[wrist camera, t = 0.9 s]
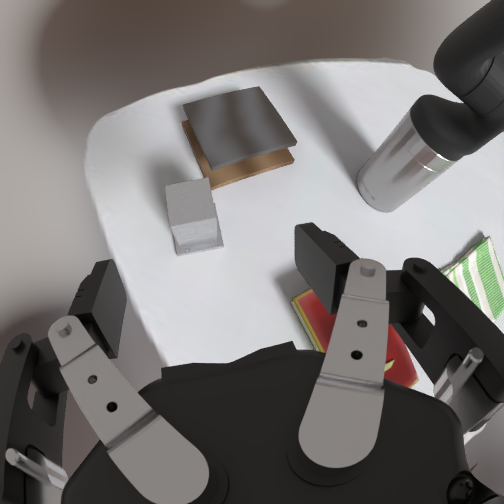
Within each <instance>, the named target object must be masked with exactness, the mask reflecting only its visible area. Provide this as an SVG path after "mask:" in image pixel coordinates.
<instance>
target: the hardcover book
mask: <svg viewBox="0 0 504 504" xmlns="http://www.w3.org/2000/svg"><path fill="white" fill-rule="evenodd" d="M361 259H363V258H361ZM292 299H293V301H292V302H291V304H292V306H293V308H294V310H295V312H296V314H297V316H298V317H299V319H300V321H301V323H302V325H303V327H304V329H305V331H306V333H307V335H308V336H309V338H310V340H311V342H312V344H313V346H314V348H315V350H316V351H319V352H324V353H327V349H328V346H329V342H330V339H331V335H332V332H333V328H334V324H335V321H336V317H337V314H334V315H329V313H328V312H327V310H326V309H325V307H324V306H323V304H322V303H321V301H320V300H319V299H318V297H317V296H316V294H315V293H314V291H313V290H312V289H311V288H310V289H309V290H307V291H305V292H303V293H302V294H300V295H298V296H296V297H294V298H292ZM384 378H386V379H388V380H391V381H393V382H396V383H398V384H401V385H403V386H406V387H408V388H411V387H412V386H413V385H414V384H415V383H416V382H418V381H419V378H418V376H417V373H416V370H415V368H414V365H413V363H412V360H411V358H410V355H409V353H408V351H407V348H406V346H405V343H404V342H403V340H402V339H401V337H400V336H399V335H398V333H397V332H396V331H395V329H394V328H393V327H392V325H391V324H388V338H387V351H386V361H385V371H384Z"/></svg>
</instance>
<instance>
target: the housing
mask: <svg viewBox="0 0 504 504" xmlns="http://www.w3.org/2000/svg"><path fill="white" fill-rule="evenodd" d="M165 192H166V201H167V209H168V217H169V224H170V228H171V230H172V232H173V234H174V240H175V246H176V252H177V256H182V255H187V254H192V253H197V252H202V251H207V250H212V249H217V248H222V247H224V245H223V240H222V236H221V231H220V226H219V221H218V216H217V212H216V207H215V203H213V198H212V193H211V188H210V183H209V178H208V177H207V178H202V179H196V180H191V181H186V182H181V183H176V184H171V185H166V186H165Z"/></svg>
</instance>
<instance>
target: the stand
mask: <svg viewBox="0 0 504 504" xmlns="http://www.w3.org/2000/svg"><path fill="white" fill-rule="evenodd" d="M183 107H184V111H185V113H186V115H187V118H188V120H187V121H183V122H182V126H183V128H184V131H185V133H186V135H187V138H188V140H189V142H190V145H191V147H192V149H193V152H194V154H195V156H196V159H197V161H198V163H199V166H200V168H201V170H202V173H203V175H204V177H205V178H207V177H208V178H209V183H210V188H211V190H213V189H216V188H219V187H222V186H224V185H227V184H230V183H233V182H236V181H239V180H242V179H245V178H248V177H251V176H254V175H257V174H260V173H263V172H266V171H269V170H273V169H276V168H279V167H282V166H286V165H289V164H292V163H293V162H294V158H293V157H292V155H291V153H290V152H289V150H288V147H292V146H295V145H296V143H297V140H296V139H295V137H294V136H293V134H292V133H291V131H290V130H289V128H288V127H287V125H286V124H285V122H284V121H283V119H282V118H281V116H280V115H279V113H278V112H277V110H276V109H275V108H274V106H273V105H272V103H271V102H270V101H269V99H268V98H267V96H266V95H265V94H264V92H263V91H262V89H261V88H260V87H259V86H258V87H253V88H248V89H243V90H238V91H234V92H229V93H225V94H221V95H217V96H213V97H209V98H205V99H202V100H198V101H195V102H191V103H188V104H184V105H183Z"/></svg>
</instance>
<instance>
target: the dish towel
mask: <svg viewBox="0 0 504 504" xmlns="http://www.w3.org/2000/svg"><path fill="white" fill-rule="evenodd" d="M440 272H441V273H443V274H444V275H445V276H446V277H447V278H448V279H449V280H450V281H451V282H453V283H454V284H455V285H456V286H457V287H458V288H459V289H460V290H461V291H462V292H463V293H464V294H465V295H466V296H467V297H468V298H469V299H470V300H471V301H472V302H473V303H474V304H476V305H477V306H478V308H479V309H480V310H481V311H482V312H483V313H484V314H485V315H486V316H487V317H488V318H489V319H490V320H491V321H492V322H493V323H494V322H495V321H496V319H497V318H498V317H499V315H500V314H501V313H502V311H503V310H504V274H503V271H502V268H501V265H500V262H499V259H498V257H497V254H496V251H495V248H494V245H493V243H492V240H491V237H490V236H488V237H486V238H485V237H484V238H483V239H482V240H481V241H480V242H478V243H477V244H476V245H474V246H473V247H472V248H471V249H470V250H469V251H468V252H467V253H466V254H465V255H463V256H462V257H461V258H460V259H459V260H458V261H457V262H455V263H453V264H451V265H449V266H447V267H446V268H444V269H443V270H441V271H440Z"/></svg>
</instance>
